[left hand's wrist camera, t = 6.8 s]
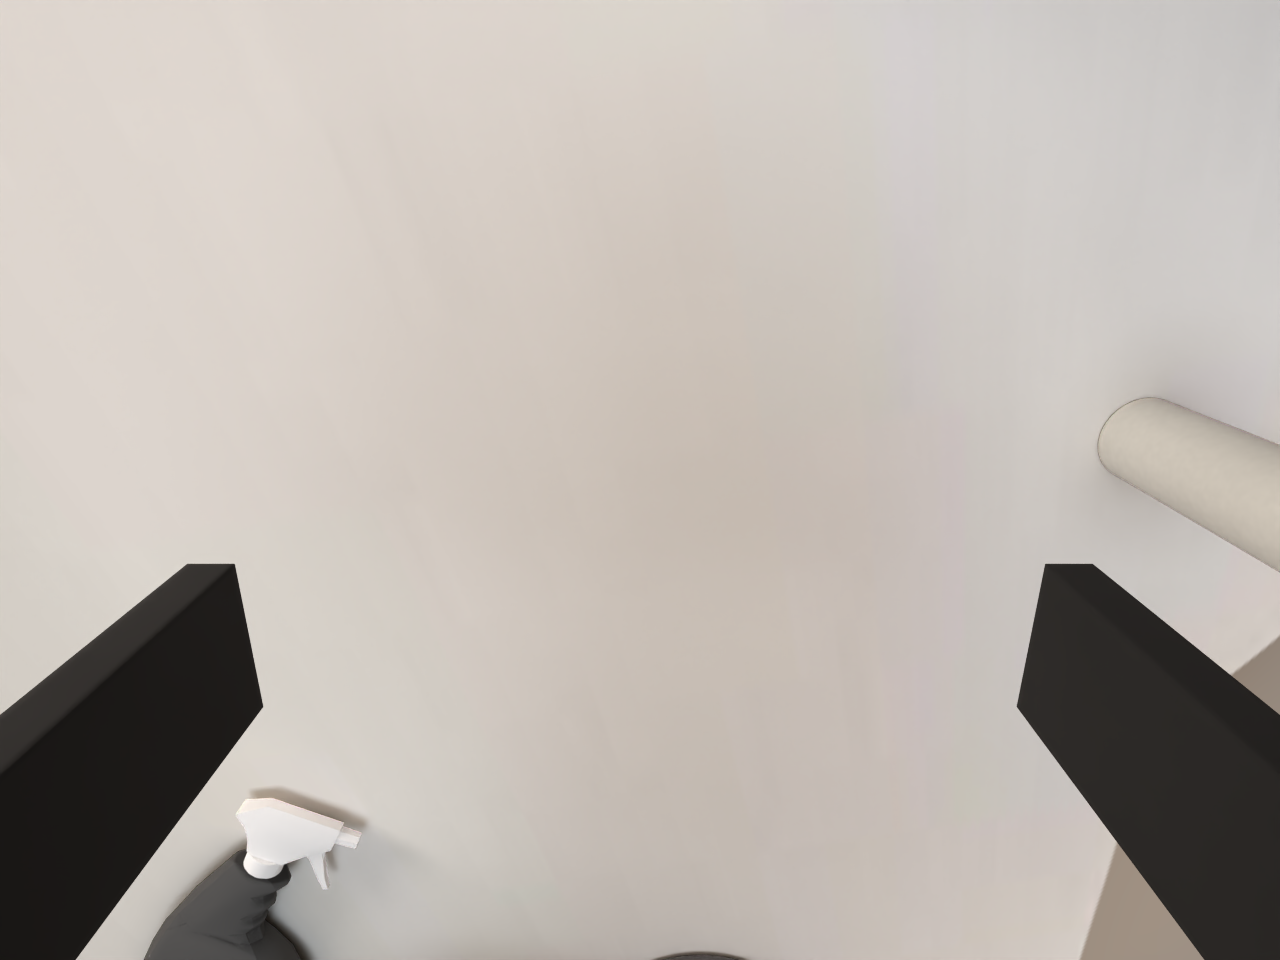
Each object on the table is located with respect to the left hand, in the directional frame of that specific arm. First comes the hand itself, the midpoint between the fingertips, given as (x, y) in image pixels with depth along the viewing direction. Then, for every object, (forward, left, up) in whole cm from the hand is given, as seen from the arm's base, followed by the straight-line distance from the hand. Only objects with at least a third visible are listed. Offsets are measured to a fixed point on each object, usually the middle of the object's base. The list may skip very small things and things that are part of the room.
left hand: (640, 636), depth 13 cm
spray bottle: (-42, +22, -28) cm, 55 cm away
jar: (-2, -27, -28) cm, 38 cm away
